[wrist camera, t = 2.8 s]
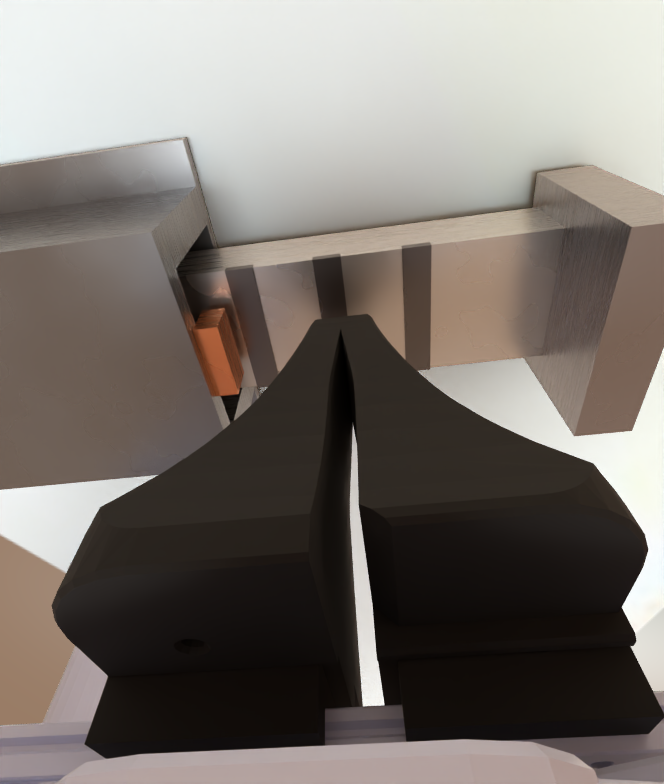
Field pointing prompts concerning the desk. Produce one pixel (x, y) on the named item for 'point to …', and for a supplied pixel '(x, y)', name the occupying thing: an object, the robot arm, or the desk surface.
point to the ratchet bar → (472, 292)
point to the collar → (107, 319)
